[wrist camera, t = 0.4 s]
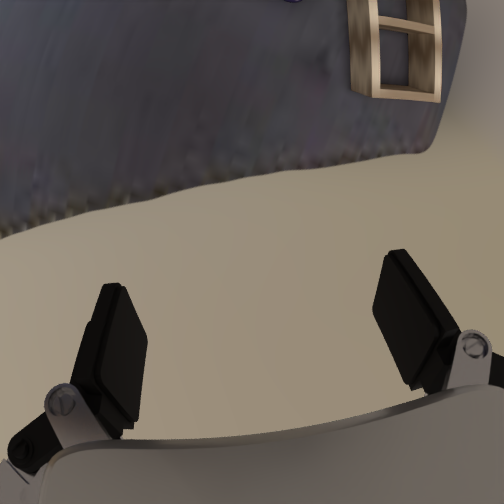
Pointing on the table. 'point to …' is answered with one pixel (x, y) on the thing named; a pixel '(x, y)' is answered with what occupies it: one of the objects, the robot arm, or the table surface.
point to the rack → (419, 42)
